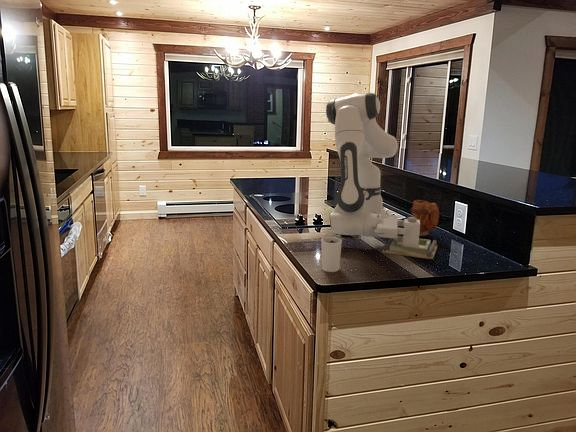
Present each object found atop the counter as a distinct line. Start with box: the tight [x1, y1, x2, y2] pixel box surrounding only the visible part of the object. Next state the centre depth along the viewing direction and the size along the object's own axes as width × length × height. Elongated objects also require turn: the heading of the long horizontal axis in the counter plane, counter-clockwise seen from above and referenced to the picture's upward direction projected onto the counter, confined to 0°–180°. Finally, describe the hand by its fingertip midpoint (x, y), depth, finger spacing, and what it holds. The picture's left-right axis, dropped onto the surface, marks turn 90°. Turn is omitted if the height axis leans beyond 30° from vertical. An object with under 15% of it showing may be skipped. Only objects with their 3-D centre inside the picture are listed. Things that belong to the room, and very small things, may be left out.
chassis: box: [381, 235, 438, 260], centre depth 174 cm, size 17×18×3 cm
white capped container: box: [402, 216, 420, 248], centre depth 172 cm, size 6×6×11 cm
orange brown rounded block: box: [409, 199, 440, 237], centre depth 189 cm, size 15×8×15 cm, turn 22°
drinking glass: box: [320, 236, 343, 273], centre depth 153 cm, size 7×7×10 cm
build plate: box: [334, 233, 360, 239], centre depth 192 cm, size 12×7×5 cm, turn 73°
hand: (410, 227), depth 172 cm, fingers open, 8 cm apart
